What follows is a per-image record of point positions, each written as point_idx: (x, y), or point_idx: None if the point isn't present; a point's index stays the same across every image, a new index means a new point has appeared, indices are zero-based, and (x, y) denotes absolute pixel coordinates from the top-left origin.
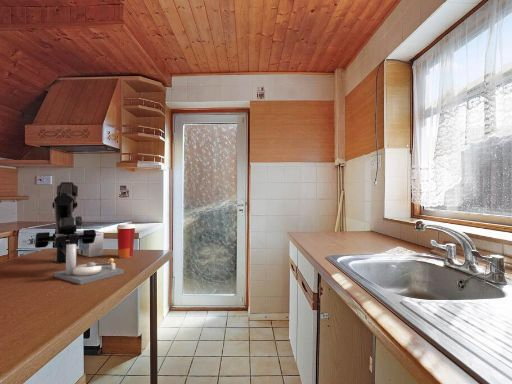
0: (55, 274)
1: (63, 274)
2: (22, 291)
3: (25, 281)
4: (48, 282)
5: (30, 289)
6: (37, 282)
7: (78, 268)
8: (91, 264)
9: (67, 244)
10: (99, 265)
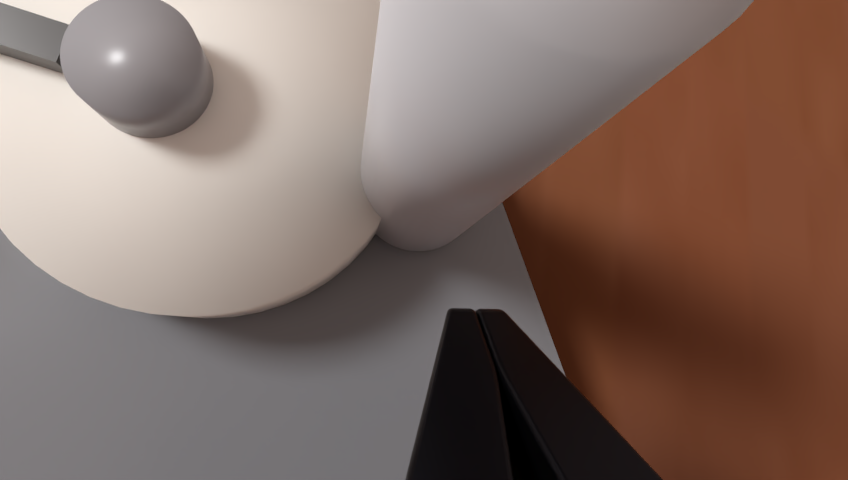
0: None
1: (494, 221)
2: (808, 28)
3: (808, 373)
4: (620, 184)
5: (757, 45)
6: (710, 254)
7: (347, 46)
8: (142, 2)
9: (732, 17)
10: (16, 17)
